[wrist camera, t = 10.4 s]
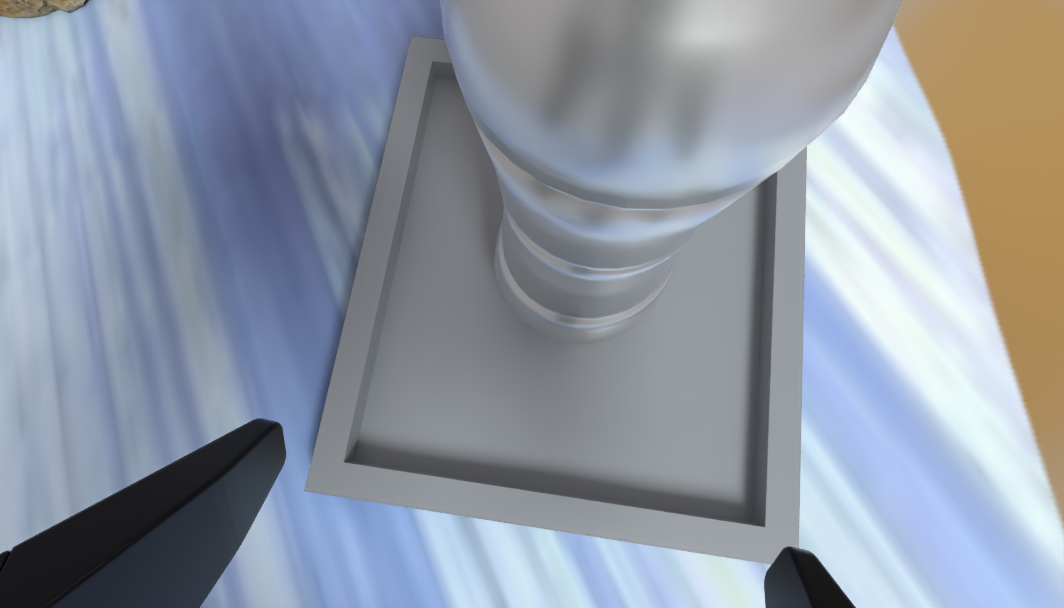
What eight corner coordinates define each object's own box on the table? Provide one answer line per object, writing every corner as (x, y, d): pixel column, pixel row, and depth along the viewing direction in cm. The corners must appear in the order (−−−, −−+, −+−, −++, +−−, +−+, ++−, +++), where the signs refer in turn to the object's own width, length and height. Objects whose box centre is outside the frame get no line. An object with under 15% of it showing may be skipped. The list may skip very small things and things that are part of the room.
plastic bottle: (474, 245, 22) (47, -1018, 3) (612, 183, 23) (1040, -1194, 3) (538, 380, 21) (568, -293, 1) (684, 310, 21) (2085, -813, 2)
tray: (777, 557, 20) (798, 568, 18) (322, 486, 20) (304, 491, 19) (790, 103, 24) (808, 81, 23) (419, 60, 25) (411, 35, 24)
